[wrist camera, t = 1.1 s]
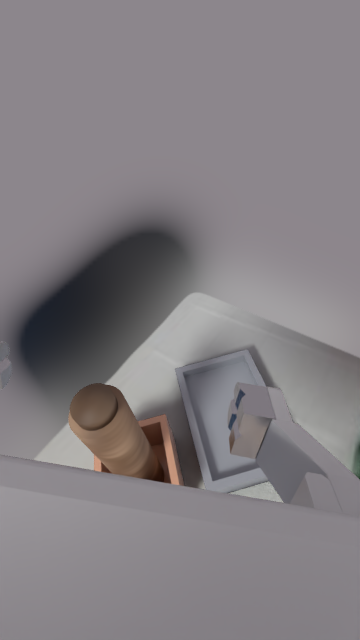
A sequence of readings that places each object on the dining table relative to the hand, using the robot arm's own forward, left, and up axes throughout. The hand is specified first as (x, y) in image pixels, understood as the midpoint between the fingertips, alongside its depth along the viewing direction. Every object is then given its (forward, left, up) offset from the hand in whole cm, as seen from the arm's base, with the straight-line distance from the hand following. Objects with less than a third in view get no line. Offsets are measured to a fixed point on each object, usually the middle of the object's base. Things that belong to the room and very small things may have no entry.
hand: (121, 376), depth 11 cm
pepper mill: (+5, -7, -31) cm, 32 cm away
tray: (-8, -12, -32) cm, 35 cm away
